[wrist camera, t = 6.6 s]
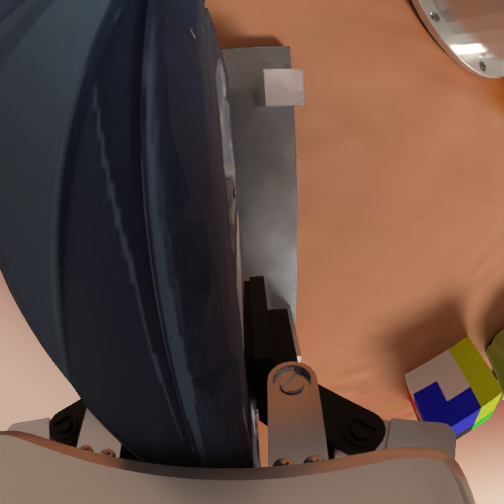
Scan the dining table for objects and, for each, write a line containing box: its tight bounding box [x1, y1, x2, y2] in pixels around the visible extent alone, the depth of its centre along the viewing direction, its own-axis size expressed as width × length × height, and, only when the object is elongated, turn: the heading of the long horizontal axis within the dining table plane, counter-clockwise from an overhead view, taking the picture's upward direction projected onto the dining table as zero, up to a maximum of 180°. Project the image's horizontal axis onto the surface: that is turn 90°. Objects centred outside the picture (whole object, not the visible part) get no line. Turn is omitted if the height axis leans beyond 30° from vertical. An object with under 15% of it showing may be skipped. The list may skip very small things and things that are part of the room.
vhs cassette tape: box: [0, 0, 261, 468], centre depth 9 cm, size 18×3×10 cm, turn 2°
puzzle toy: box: [405, 336, 503, 439], centre depth 26 cm, size 10×10×10 cm
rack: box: [221, 46, 305, 362], centre depth 16 cm, size 22×9×6 cm, turn 4°
